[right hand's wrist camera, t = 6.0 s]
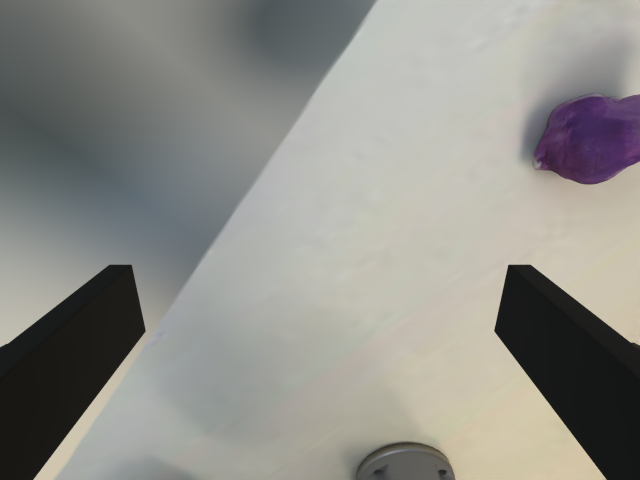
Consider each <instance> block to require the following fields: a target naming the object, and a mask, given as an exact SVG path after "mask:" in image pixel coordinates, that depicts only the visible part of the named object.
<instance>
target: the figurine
mask: <svg viewBox="0 0 640 480" xmlns="http://www.w3.org/2000/svg"><path fill="white" fill-rule="evenodd" d="M639 161H640V95H633V96H629V97H626V98H623V99H621V98H620V97H609V98H608V97H606V96H604V95H602V94H598V93H593V94H589V95H585V96H581V97H579V98H576V99H572V100H570V101H568V102H565V103H563V104H561V105H559V106H557V107H556V108H555V110H553V111H552V113H551V115H550V118H549V120H548V126H547V128H546V130H545V133H544V135H543V136H542V138H541V140H540V142H539V144H538V146H537V148H536V150H535V152H534V154H533V167H534V169H536V170H552V171H554V172H556V173H557V174H559V175H560V176H561V177H563V178H565V179H570V180H573V181H576V182H578V183H581V184H597V183H601V182H604V181H607V180H609V179H611V178H612V177H614V176H615V175H617V174H618V173H620V172H621V171H622V170H624V169H625V168H627V167H628V166H630V165H633V164H635V163H637V162H639Z"/></svg>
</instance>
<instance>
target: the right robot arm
mask: <svg viewBox="0 0 640 480" xmlns="http://www.w3.org/2000/svg"><path fill="white" fill-rule="evenodd" d="M145 331H146V330H145V325H144V321H143V316H142V311H141V307H140V302H139V297H138V293H137V288H136V283H135V279H134V274H133V269H132V265H109V266H107V267H106V268H105V269H104V270H102V271H101V272H100V273H98V274H97V275H96V276H95V277H93V278H92V279H91V280H89V281H88V282H87V283H86V284H84V285H83V286H82V287H80V288H79V289H78V290H77V291H75V292H74V293H73V294H71V295H70V296H69V297H68V298H66V299H65V300H64V301H62V302H61V303H60V304H59V305H57V306H56V307H55V308H53V309H52V310H51V311H50V312H48V313H47V314H46V315H44V316H43V317H42V318H41V319H39V320H38V321H37V322H35V323H34V324H33V325H32V326H30V327H29V328H28V329H26V330H25V331H24V332H23V333H21V334H20V335H19V336H17V337H16V338H15V339H14V340H12V341H11V342H10V343H8V344H6V345H4V346H2V347H0V480H33V479H34V478H35V477H36V475H37V474H38V473H39V471H40V470H41V469H42V467H43V466H44V465H45V463H46V462H47V461H48V459H49V458H50V457H51V455H52V454H53V453H54V451H55V450H56V449H57V447H58V446H59V445H60V444H61V442H62V441H63V440H64V438H65V437H66V436H67V434H68V433H69V432H70V430H71V429H72V428H73V426H74V425H75V424H76V422H77V421H78V420H79V419H80V417H81V416H82V415H83V413H84V412H85V411H86V409H87V408H88V407H89V405H90V404H91V403H92V401H93V400H94V399H95V397H96V396H97V395H98V393H99V392H100V391H101V389H102V388H103V387H104V386H105V384H106V383H107V382H108V380H109V379H110V378H111V376H112V375H113V374H114V372H115V371H116V370H117V368H118V367H119V366H120V364H121V363H122V362H123V360H124V359H125V358H126V356H127V355H128V354H129V353H130V351H131V350H132V349H133V347H134V346H135V345H136V343H137V342H138V341H139V339H140V338H141V337H142V335H143V334H144V333H145ZM494 331H495V333H496V334H497V335H498V337H499V338H500V339H501V341H502V342H503V343H504V345H505V346H506V347H507V349H508V350H509V351H510V353H511V354H512V355H513V356H514V358H515V359H516V360H517V362H518V363H519V364H520V366H521V367H522V368H523V370H524V371H525V372H526V374H527V375H528V376H529V378H530V379H531V380H532V382H533V383H534V384H535V386H536V387H537V388H538V389H539V391H540V392H541V393H542V395H543V396H544V397H545V399H546V400H547V401H548V403H549V404H550V405H551V407H552V408H553V409H554V411H555V412H556V413H557V415H558V416H559V417H560V419H561V420H562V421H563V422H564V424H565V425H566V426H567V428H568V429H569V430H570V432H571V433H572V434H573V436H574V437H575V438H576V440H577V441H578V442H579V444H580V445H581V446H582V448H583V449H584V450H585V452H586V453H587V454H588V455H589V457H590V458H591V459H592V461H593V462H594V463H595V465H596V466H597V467H598V469H599V470H600V471H601V473H602V474H603V475H604V477H605V478H606V479H607V480H640V346H639V345H637V344H635V343H630V342H629V341H628V340H626V339H625V338H624V337H623V336H621V335H620V334H619V333H617V332H616V331H615V330H614V329H612V328H611V327H610V326H608V325H607V324H606V323H605V322H603V321H602V320H601V319H599V318H598V317H597V316H596V315H594V314H593V313H592V312H590V311H589V310H588V309H587V308H585V307H584V306H583V305H581V304H580V303H579V302H578V301H576V300H575V299H574V298H572V297H571V296H570V295H569V294H567V293H566V292H565V291H563V290H562V289H561V288H560V287H558V286H557V285H556V284H554V283H553V282H552V281H551V280H549V279H548V278H547V277H545V276H544V275H543V274H542V273H540V272H539V271H538V270H536V269H535V268H534V267H533V266H531V265H508V269H507V274H506V279H505V283H504V288H503V293H502V297H501V302H500V307H499V311H498V316H497V321H496V325H495V330H494ZM356 480H455V476H454V473H453V470H452V467H451V465H450V463H449V461H448V459H447V458H446V457H445V456H444V455H443V454H442V453H440V452H439V451H437V450H435V449H433V448H431V447H428V446H425V445H421V444H413V443H403V444H396V445H391V446H387V447H384V448H382V449H380V450H378V451H376V452H374V453H372V454H371V455H370V456H368V457H367V458H366V459H365V460H364V461H363V462H362V464H361V465H360V467H359V468H358V471H357V474H356Z"/></svg>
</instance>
